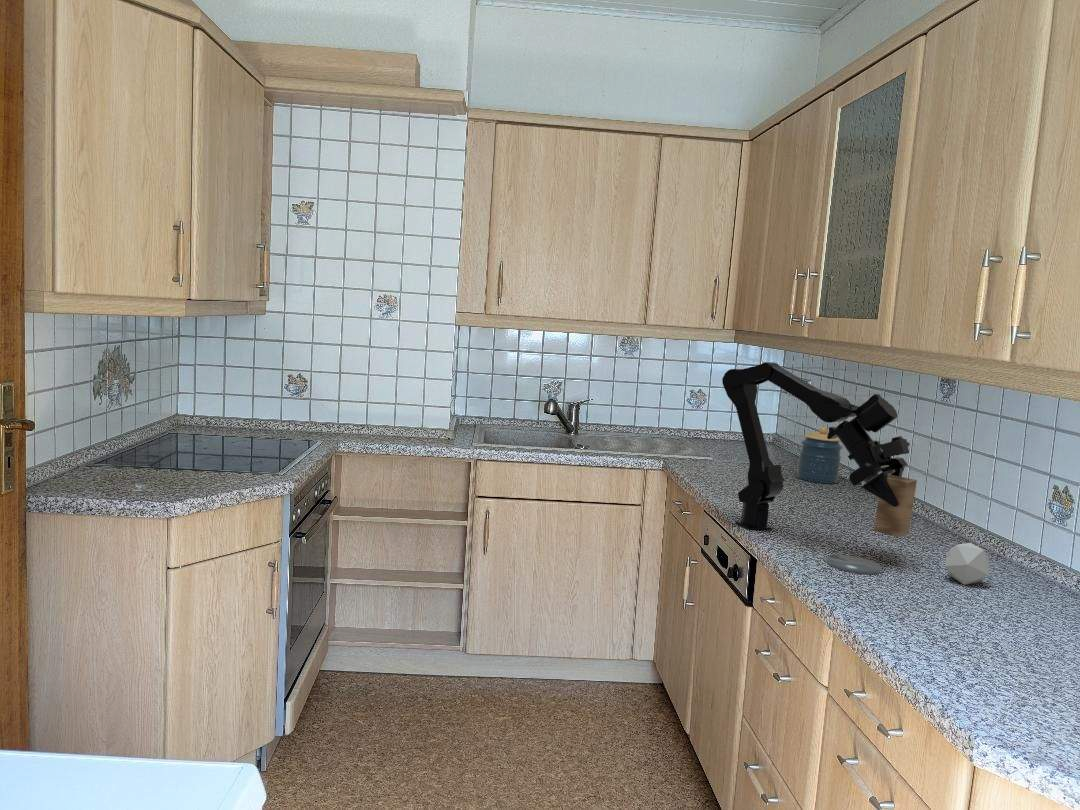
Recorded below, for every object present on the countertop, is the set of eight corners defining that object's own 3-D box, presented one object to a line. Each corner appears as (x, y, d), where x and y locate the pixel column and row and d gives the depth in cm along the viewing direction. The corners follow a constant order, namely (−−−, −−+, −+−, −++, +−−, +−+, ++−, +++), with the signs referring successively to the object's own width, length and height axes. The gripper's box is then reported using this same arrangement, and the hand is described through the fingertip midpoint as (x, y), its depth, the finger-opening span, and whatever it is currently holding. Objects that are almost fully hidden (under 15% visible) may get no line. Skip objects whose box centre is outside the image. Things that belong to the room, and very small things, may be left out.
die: (958, 576, 188) (937, 539, 186) (1000, 566, 183) (978, 528, 181) (955, 598, 181) (934, 560, 180) (998, 588, 176) (976, 550, 175)
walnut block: (873, 530, 190) (881, 477, 188) (883, 527, 194) (891, 474, 192) (899, 537, 186) (907, 482, 185) (908, 533, 190) (916, 480, 189)
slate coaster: (815, 558, 189) (815, 555, 189) (856, 557, 192) (857, 554, 192) (848, 575, 178) (849, 571, 178) (892, 574, 182) (892, 570, 182)
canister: (840, 486, 278) (848, 431, 276) (798, 481, 280) (805, 426, 278) (834, 478, 291) (841, 426, 289) (794, 473, 293) (801, 422, 291)
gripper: (871, 425, 183) (917, 488, 177) (904, 422, 197) (948, 480, 191) (830, 455, 189) (873, 516, 183) (865, 449, 203) (906, 507, 197)
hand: (902, 504), depth 188 cm, fingers closed on walnut block, 5 cm apart
